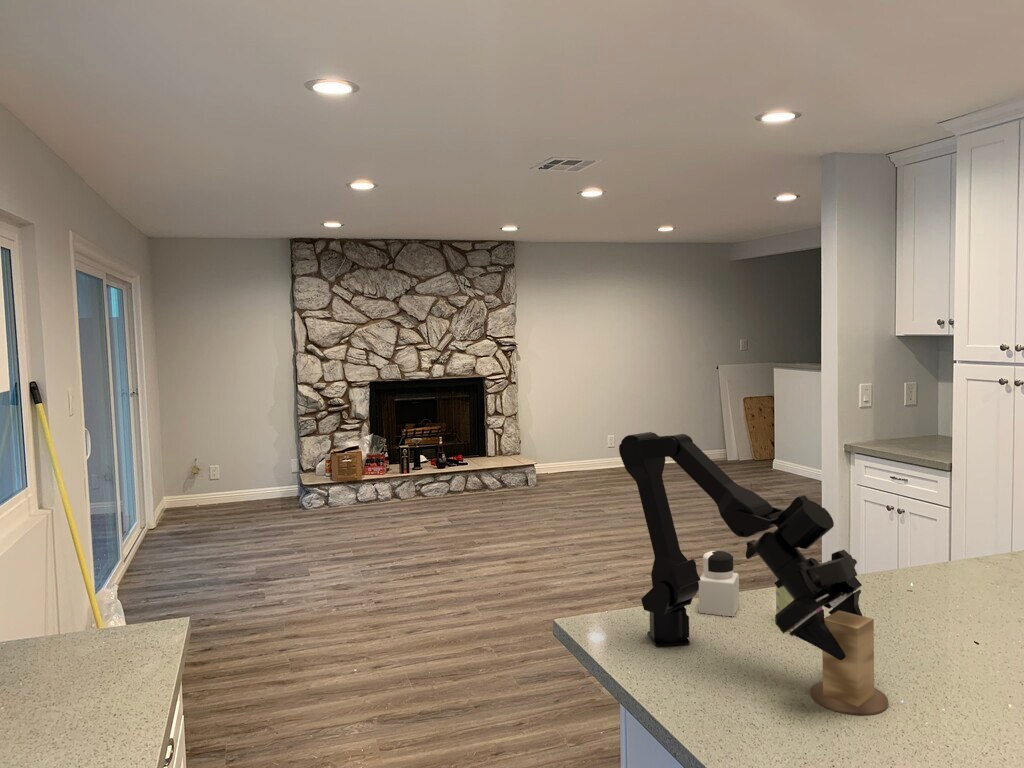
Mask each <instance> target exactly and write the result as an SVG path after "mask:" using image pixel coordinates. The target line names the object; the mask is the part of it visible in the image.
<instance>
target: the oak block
mask: <svg viewBox="0 0 1024 768" xmlns="http://www.w3.org/2000/svg"><path fill="white" fill-rule="evenodd" d="M824 621H825V625H826V626H827V627H828V629H829V630H830V632H831V633H832V635H833V636H834V638H835V639H836V641H837V642H838V644H839V645H840V647H841V648H842V650H843V652H844V653H845V655H846V658H844V659H843V660H839V659H837V658H835V657H833V656H832V655H830V654H828V653H826V652H825V651H823V650H822V654H821V656H822V681H823V695H824V696H827V697H830V698H833V699H836V700H839V701H842V702H845V703H848V704H851V705H854V706H857V707H859V706H860V705H861V704H863V703H864V702H866V701H867V700H868V699H870V698H871V697H872V696H874V688H875V638H874V637H875V635H874V634H875V633H874V632H875V630H874V629H875V626H874V624H875V623H874V621H875V620H874V618H871V617H868V616H863V615H862V616H860V615H856V614H851V613H847V612H843V611H839V610H838V611H837V612H835V613H833V614H831V615H830V614H829V615H828V616H826V617H824Z"/></svg>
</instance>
